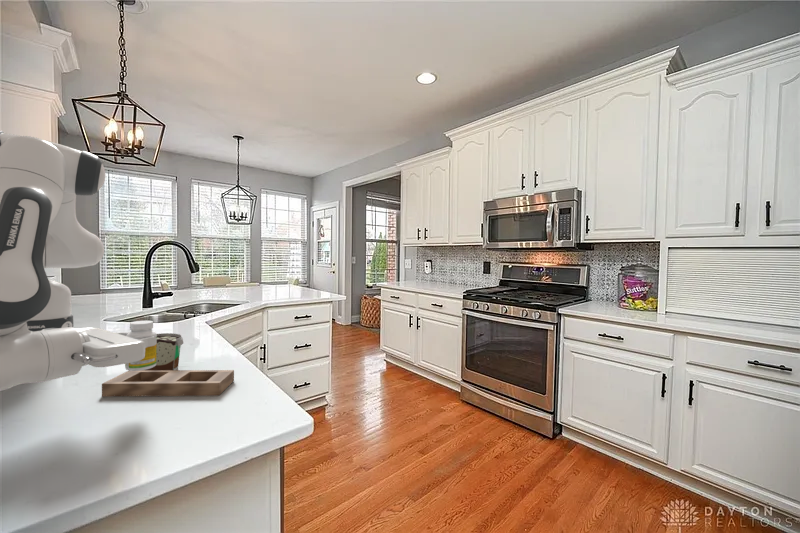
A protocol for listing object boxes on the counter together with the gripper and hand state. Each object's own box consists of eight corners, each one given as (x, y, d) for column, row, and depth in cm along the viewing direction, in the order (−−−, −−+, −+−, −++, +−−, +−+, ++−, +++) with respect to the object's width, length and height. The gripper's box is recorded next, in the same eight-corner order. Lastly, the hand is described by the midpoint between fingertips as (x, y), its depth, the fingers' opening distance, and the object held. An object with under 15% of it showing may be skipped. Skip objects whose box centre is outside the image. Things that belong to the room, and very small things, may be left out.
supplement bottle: (162, 366, 77) (162, 321, 76) (134, 373, 72) (135, 325, 72) (147, 361, 79) (147, 318, 79) (119, 368, 74) (120, 322, 74)
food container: (193, 368, 103) (193, 334, 103) (178, 375, 97) (178, 338, 97) (154, 365, 104) (154, 331, 104) (136, 372, 98) (136, 336, 98)
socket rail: (101, 396, 82) (101, 383, 82) (128, 381, 91) (128, 370, 91) (219, 395, 84) (219, 383, 84) (233, 381, 94) (234, 370, 93)
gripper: (87, 344, 59) (174, 330, 71) (39, 327, 69) (122, 317, 81) (87, 381, 59) (173, 361, 71) (39, 359, 69) (122, 345, 81)
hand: (146, 337), depth 76 cm, fingers closed on supplement bottle, 5 cm apart
